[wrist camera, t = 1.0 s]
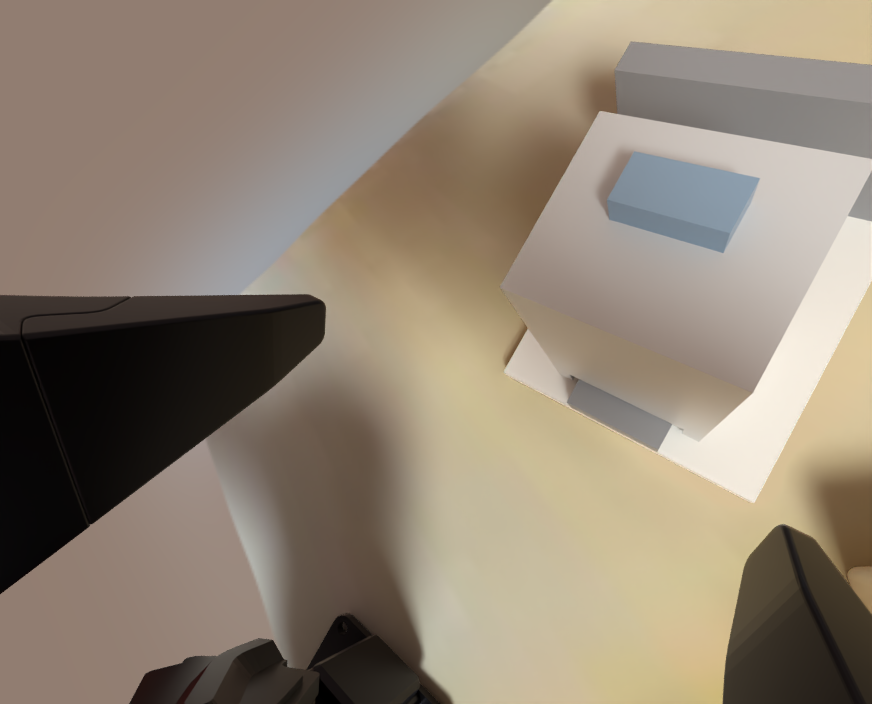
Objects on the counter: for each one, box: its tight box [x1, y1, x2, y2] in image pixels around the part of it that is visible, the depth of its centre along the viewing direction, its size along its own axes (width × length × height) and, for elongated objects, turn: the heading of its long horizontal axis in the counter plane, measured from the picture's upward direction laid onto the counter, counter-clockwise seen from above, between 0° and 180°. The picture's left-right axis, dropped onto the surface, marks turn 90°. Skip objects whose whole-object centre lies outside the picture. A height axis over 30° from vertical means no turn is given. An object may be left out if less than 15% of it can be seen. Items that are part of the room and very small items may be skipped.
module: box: [500, 111, 872, 442], centre depth 13 cm, size 5×6×10 cm
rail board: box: [504, 42, 872, 503], centre depth 16 cm, size 12×10×6 cm
